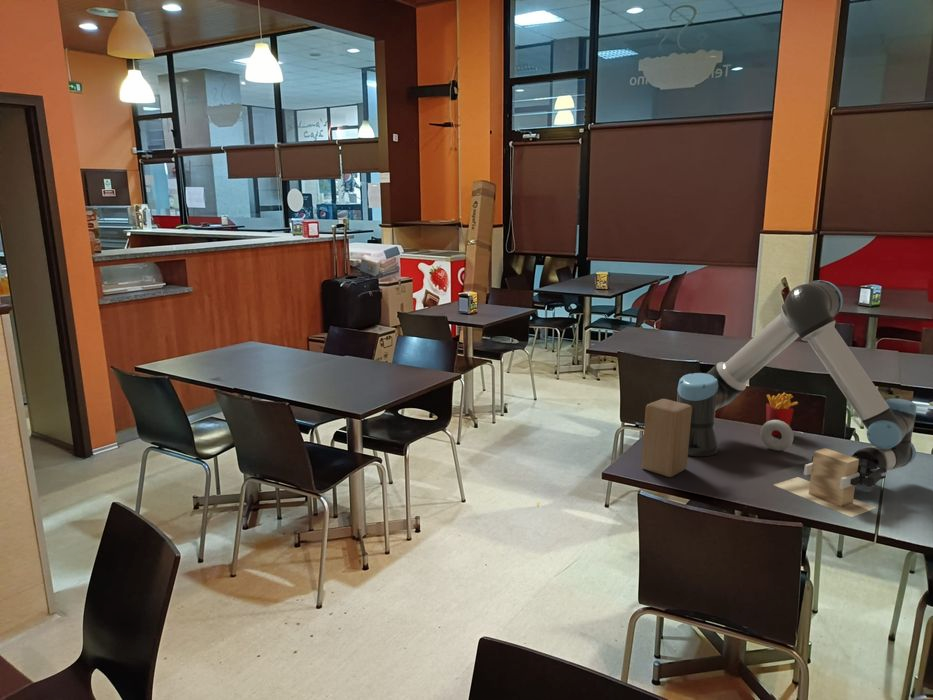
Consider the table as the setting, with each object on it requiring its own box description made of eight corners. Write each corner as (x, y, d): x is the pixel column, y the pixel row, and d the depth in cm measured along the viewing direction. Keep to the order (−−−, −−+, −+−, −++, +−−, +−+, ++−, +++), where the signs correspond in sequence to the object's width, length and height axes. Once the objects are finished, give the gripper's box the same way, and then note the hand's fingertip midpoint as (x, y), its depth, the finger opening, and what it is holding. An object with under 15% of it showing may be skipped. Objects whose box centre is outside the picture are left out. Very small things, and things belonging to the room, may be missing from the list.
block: (639, 468, 200) (644, 404, 196) (657, 460, 207) (662, 397, 202) (670, 479, 193) (676, 412, 189) (687, 469, 200) (693, 404, 195)
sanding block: (808, 493, 181) (814, 451, 178) (819, 490, 183) (825, 448, 181) (841, 507, 173) (847, 462, 170) (852, 502, 176) (859, 459, 173)
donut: (756, 447, 218) (760, 418, 216) (760, 444, 221) (763, 415, 218) (789, 455, 212) (793, 425, 210) (793, 452, 214) (796, 422, 212)
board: (772, 489, 187) (773, 484, 186) (797, 481, 192) (797, 476, 192) (850, 522, 168) (851, 517, 168) (875, 512, 174) (876, 507, 173)
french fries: (762, 430, 234) (767, 388, 231) (785, 430, 234) (790, 388, 231) (774, 439, 225) (779, 396, 222) (798, 439, 226) (804, 396, 222)
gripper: (912, 488, 177) (863, 506, 166) (833, 460, 195) (783, 475, 184) (917, 461, 175) (867, 478, 164) (836, 435, 194) (786, 449, 183)
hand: (823, 476), depth 174 cm, fingers closed on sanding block, 9 cm apart
